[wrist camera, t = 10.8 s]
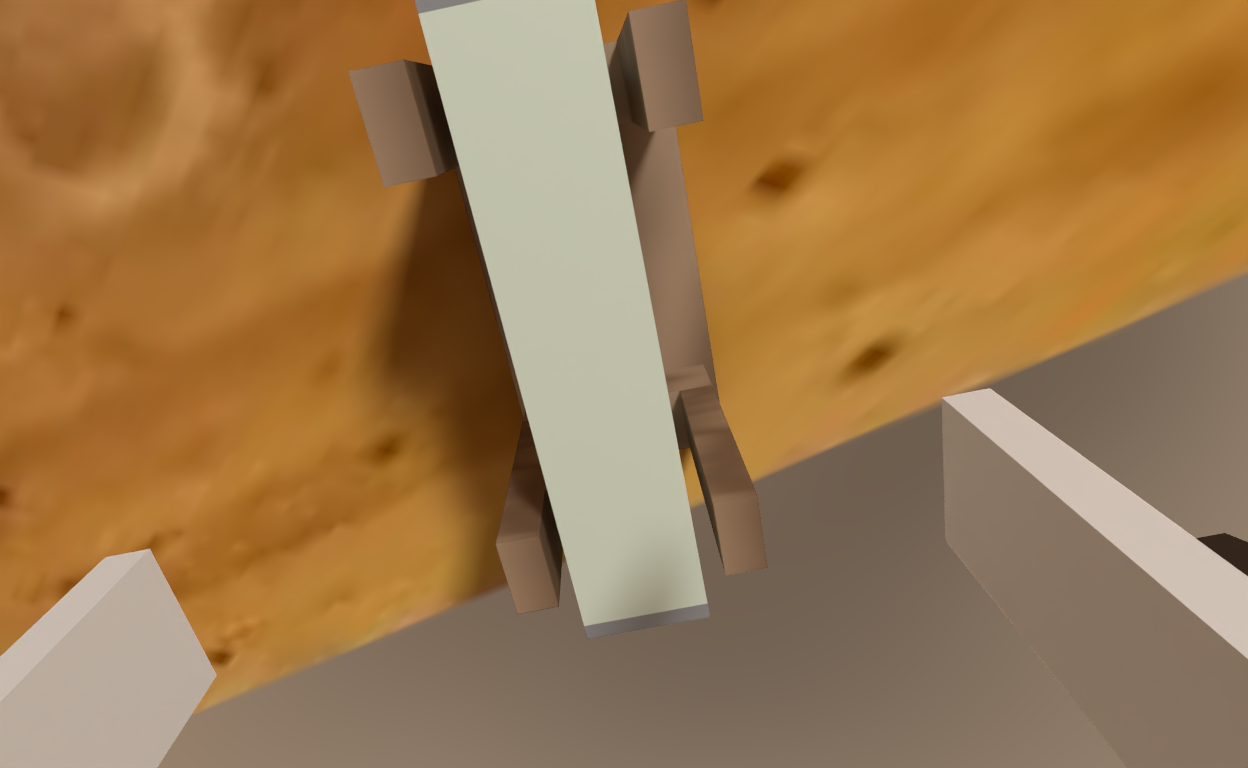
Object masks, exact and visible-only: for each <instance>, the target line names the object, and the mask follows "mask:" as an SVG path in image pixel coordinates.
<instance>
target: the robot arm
mask: <svg viewBox="0 0 1248 768" xmlns="http://www.w3.org/2000/svg"><path fill="white" fill-rule="evenodd" d="M942 422H943V423H942V424H943V461H944V497H945V498H944V499H945V500H944V502H945V537H946V539H945V541H946V542H947V543H948V544H949V546H950V547H951V548H952V550H953V551H954V552H955V553H956V554H957V556H958V557H959V558H960V560H961V561H962V562H963V563H964V564H965V566H966V567H967V568H968V569H969V571H970V572H971V573H972V575H973V576H974V577H975V578H976V579H977V581H978V582H979V583H980V585H981V586H982V587H983V588H984V590H985V591H986V592H987V593H988V594H989V596H990V597H991V598H992V599H993V601H994V602H995V603H996V605H997V606H998V607H999V608H1000V609H1001V611H1002V612H1003V613H1004V615H1005V616H1006V617H1007V618H1008V619H1009V621H1010V622H1011V623H1012V625H1013V626H1014V627H1015V628H1016V630H1017V631H1018V632H1019V633H1020V635H1021V636H1022V637H1023V638H1024V640H1025V641H1026V642H1027V643H1028V644H1029V646H1030V647H1031V648H1032V650H1033V651H1034V652H1035V653H1036V655H1037V656H1038V657H1039V658H1040V660H1041V661H1042V662H1043V663H1044V665H1045V666H1046V667H1047V668H1048V669H1049V671H1050V672H1051V673H1052V675H1053V676H1054V677H1055V678H1056V680H1057V681H1058V682H1059V683H1060V685H1061V686H1062V687H1063V688H1064V690H1065V691H1066V692H1067V693H1068V694H1069V696H1070V697H1071V698H1072V699H1073V701H1074V702H1075V703H1076V705H1077V706H1078V707H1079V708H1080V710H1081V711H1082V712H1083V713H1084V715H1085V716H1086V717H1087V718H1088V719H1089V721H1090V722H1091V723H1092V724H1093V726H1094V727H1095V728H1096V729H1097V731H1098V732H1099V733H1100V735H1101V736H1102V737H1103V738H1104V740H1105V741H1106V742H1107V743H1108V745H1109V746H1110V747H1111V748H1112V749H1113V751H1114V752H1115V753H1116V754H1117V756H1118V757H1119V758H1120V760H1121V761H1122V762H1123V763H1124V765H1125V766H1126V767H1127V768H1248V542H1246V541H1243V540H1241V539H1238V538H1236V537H1233V536H1231V535H1228V534H1226V533H1223V534H1217V535H1212V536H1207V537H1201V538H1194V537H1193V536H1192V535H1190V534H1189V533H1188V532H1186V531H1185V530H1183V529H1182V528H1181V527H1179V526H1178V525H1177V524H1175V523H1174V522H1172V521H1171V520H1169V519H1168V518H1167V517H1165V516H1164V515H1163V514H1161V513H1160V512H1159V511H1157V510H1156V509H1155V508H1153V507H1152V506H1150V505H1149V504H1148V503H1146V502H1145V501H1144V500H1142V499H1141V498H1140V497H1138V496H1137V495H1135V494H1134V493H1133V492H1131V491H1130V490H1129V489H1127V488H1126V487H1124V486H1123V485H1121V484H1120V483H1118V482H1117V481H1116V480H1115V479H1113V478H1112V477H1110V476H1109V475H1108V474H1107V473H1105V472H1104V471H1102V470H1101V469H1100V468H1098V467H1097V466H1096V465H1094V464H1093V463H1092V462H1090V461H1089V460H1087V459H1086V458H1085V457H1083V456H1082V455H1080V454H1079V453H1078V452H1076V451H1075V450H1074V449H1072V448H1071V447H1070V446H1068V445H1067V444H1065V443H1064V442H1063V441H1061V440H1060V439H1059V438H1057V437H1056V436H1054V435H1053V434H1052V433H1050V432H1049V431H1048V430H1046V429H1045V428H1043V427H1042V426H1040V425H1039V424H1038V423H1037V422H1035V421H1034V420H1032V419H1031V418H1030V417H1028V416H1027V415H1026V414H1024V413H1023V412H1021V411H1020V410H1019V409H1017V408H1016V407H1015V406H1013V405H1012V404H1010V403H1009V402H1008V401H1006V400H1005V399H1004V398H1002V397H1001V396H999V395H998V394H997V393H995V392H994V391H993V390H991V389H984V390H979V391H973V392H968V393H963V394H958V395H952V396H947V397H942ZM216 676H217V675H216V673H215V671H214V669H213V667H212V666H211V664H210V662H209V660H208V658H207V656H206V654H205V652H204V650H203V649H202V647H201V645H200V643H199V641H198V639H197V637H196V635H195V633H194V632H193V630H192V628H191V626H190V624H189V622H188V620H187V618H186V616H185V615H184V613H183V611H182V609H181V607H180V605H179V603H178V601H177V599H176V598H175V596H174V594H173V592H172V590H171V588H170V586H169V584H168V582H167V580H166V579H165V577H164V575H163V573H162V571H161V569H160V567H159V565H158V563H157V562H156V560H155V558H154V556H153V554H152V552H151V550H150V549H147V550H141V551H136V552H131V553H126V554H120V555H115V556H110V557H105V558H104V559H103V560H102V561H101V562H100V563H99V564H98V565H97V566H96V567H95V568H94V569H92V570H91V571H90V572H89V573H88V574H87V575H86V576H85V577H84V578H83V579H82V580H81V581H80V582H79V583H78V584H77V585H76V586H74V587H73V588H72V589H71V590H70V591H69V592H68V593H67V594H66V595H65V596H64V597H63V598H62V599H61V600H60V601H59V602H58V603H57V604H55V605H54V606H53V607H52V608H51V609H50V610H49V611H48V612H47V613H46V614H45V615H44V616H43V617H42V618H41V619H40V620H39V621H38V622H36V623H35V624H34V625H33V626H32V627H31V628H30V629H29V630H28V631H27V632H26V633H25V634H24V635H23V636H22V637H21V638H20V639H19V640H17V641H16V642H15V643H14V644H13V645H12V646H11V647H10V648H9V649H8V650H7V651H6V652H5V653H4V654H3V655H2V656H1V657H0V768H157V767H158V765H159V764H160V762H161V761H162V759H163V758H164V756H165V755H166V753H167V752H168V750H169V748H170V747H171V745H172V744H173V742H174V740H175V739H176V738H177V736H178V734H179V733H180V731H181V730H182V728H183V727H184V725H185V724H186V722H187V720H188V719H189V718H190V716H191V714H192V713H193V711H194V710H195V708H196V707H197V705H198V704H199V702H200V701H201V699H202V697H203V696H204V694H205V693H206V691H207V690H208V688H209V687H210V685H211V684H212V682H213V680H214V679H215V677H216Z"/></svg>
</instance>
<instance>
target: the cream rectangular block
mask: <svg viewBox="0 0 1248 768" xmlns="http://www.w3.org/2000/svg"><path fill="white" fill-rule="evenodd" d="M415 3H416V7H417V11H418V14H419V18H420V22H421V25H422V29H423V33H424V36H425V40H426V44H427V47H428V51H429V55H430V59H431V62H432V66H433V70H434V73H435V77H436V81H437V84H438V88H439V92H440V95H441V99H442V103H443V107H444V110H445V114H446V118H447V121H448V125H449V129H450V132H451V136H452V140H453V144H454V147H455V151H456V155H457V158H458V162H459V166H460V169H461V173H462V177H463V180H464V184H465V188H466V192H467V195H468V199H469V203H470V206H471V210H472V214H473V217H474V221H475V225H476V229H477V232H478V236H479V240H480V243H481V247H482V251H483V254H484V258H485V262H486V265H487V269H488V273H489V277H490V280H491V284H492V288H493V291H494V295H495V299H496V302H497V306H498V310H499V314H500V317H501V321H502V325H503V328H504V332H505V336H506V339H507V343H508V347H509V350H510V354H511V358H512V362H513V365H514V369H515V373H516V376H517V380H518V384H519V387H520V391H521V395H522V399H523V402H524V406H525V410H526V413H527V417H528V421H529V424H530V428H531V432H532V435H533V439H534V443H535V447H536V450H537V454H538V458H539V461H540V465H541V469H542V472H543V476H544V480H545V483H546V487H547V491H548V495H549V498H550V502H551V506H552V509H553V513H554V517H555V520H556V524H557V528H558V532H559V535H560V539H561V543H562V546H563V550H564V554H565V557H566V561H567V565H568V568H569V572H570V576H571V580H572V583H573V587H574V591H575V594H576V598H577V601H578V605H579V609H580V612H581V617H582V620H583V624H584V628H585V631H586V635H587V639H591V638H597V637H602V636H608V635H613V634H618V633H624V632H629V631H635V630H640V629H645V628H651V627H656V626H662V625H668V624H673V623H678V622H684V621H689V620H695V619H700V618H706V617H710V615H709V609H708V604H707V598H706V593H705V588H704V582H703V577H702V572H701V566H700V561H699V556H698V550H697V545H696V540H695V534H694V529H693V523H692V518H691V513H690V507H689V502H688V497H687V491H686V486H685V481H684V475H683V470H682V465H681V459H680V454H679V448H678V443H677V438H676V432H675V427H674V422H673V416H672V411H671V406H670V400H669V395H668V390H667V384H666V379H665V373H664V368H663V363H662V357H661V352H660V347H659V341H658V336H657V331H656V325H655V320H654V315H653V309H652V304H651V298H650V293H649V288H648V282H647V277H646V272H645V266H644V261H643V256H642V250H641V245H640V240H639V234H638V229H637V223H636V218H635V213H634V207H633V202H632V197H631V191H630V186H629V181H628V175H627V170H626V165H625V159H624V154H623V148H622V143H621V138H620V132H619V127H618V122H617V116H616V111H615V106H614V100H613V95H612V90H611V84H610V79H609V73H608V68H607V63H606V57H605V52H604V47H603V41H602V36H601V31H600V25H599V20H598V15H597V9H596V4H595V0H415Z"/></svg>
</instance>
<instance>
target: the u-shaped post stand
mask: <svg viewBox="0 0 1248 768" xmlns="http://www.w3.org/2000/svg"><path fill="white" fill-rule="evenodd" d="M603 47H604V52H605V57H606V63H607V68H608V73H609V79H610V84H611V90H612V95H613V100H614V106H615V111H616V116H617V122H618V127H619V132H620V138H621V143H622V148H623V154H624V159H625V165H626V170H627V175H628V181H629V186H630V191H631V197H632V202H633V207H634V213H635V218H636V223H637V229H638V234H639V240H640V245H641V250H642V256H643V261H644V266H645V272H646V277H647V282H648V288H649V293H650V298H651V304H652V309H653V315H654V320H655V325H656V331H657V336H658V341H659V347H660V352H661V357H662V363H663V368H664V373H665V379H666V384H667V390H668V395H669V400H670V406H671V411H672V416H673V422H674V427H675V432H676V438H677V443H678V448H679V449H684V448H689V447H690V449H691V452H692V456H693V459H694V463H695V467H696V470H697V474H698V478H699V481H700V485H701V488H702V492H703V496H704V499H705V503H706V506H707V510H708V513H709V517H710V521H711V524H712V528H713V532H714V535H715V539H716V543H717V546H718V550H719V553H720V557H721V561H722V564H723V568H724V571H725V575H732V574H737V573H742V572H748V571H753V570H758V569H764V568H768V566H767V559H766V552H765V546H764V538H763V531H762V525H761V517H760V510H759V503H758V497H757V493H756V491H755V488H754V486H753V483H752V481H751V479H750V476H749V474H748V471H747V469H746V466H745V464H744V462H743V459H742V457H741V454H740V452H739V449H738V447H737V445H736V442H735V440H734V437H733V435H732V432H731V430H730V428H729V425H728V423H727V420H726V418H725V416H724V413H723V411H722V408H721V406H720V403H719V397H718V390H717V384H716V378H715V371H714V365H713V359H712V352H711V346H710V340H709V333H708V327H707V321H706V314H705V308H704V302H703V296H702V289H701V283H700V277H699V270H698V264H697V258H696V251H695V245H694V239H693V232H692V226H691V220H690V213H689V207H688V201H687V194H686V188H685V182H684V175H683V169H682V163H681V156H680V150H679V144H678V138H677V131H676V126H680V125H685V124H690V123H695V122H700V121H703V115H702V108H701V101H700V94H699V87H698V80H697V73H696V66H695V59H694V53H693V46H692V39H691V32H690V25H689V18H688V11H687V4H686V0H679V1H674V2H670V3H665V4H660V5H656V6H651V7H646V8H642V9H637V10H632V11H629V12H628V14H627V17H626V19H625V22H624V25H623V27H622V30H621V32H620V35H619V37H618V40H617V41H614V42H609V43H605V44H603ZM348 73H349V76H350V79H351V83H352V86H353V89H354V92H355V95H356V99H357V102H358V105H359V108H360V111H361V115H362V118H363V121H364V124H365V127H366V131H367V134H368V137H369V140H370V144H371V147H372V150H373V153H374V156H375V160H376V163H377V166H378V169H379V172H380V176H381V179H382V182H383V185H384V187H388V186H393V185H398V184H402V183H407V182H412V181H417V180H421V179H426V178H431V177H436V176H438V175H440V174H442V173H445V172H447V171H449V170H451V169H453V168H455V170H456V174H457V178H458V181H459V185H460V189H461V192H462V196H463V200H464V203H465V207H466V211H467V214H468V218H469V222H470V225H471V229H472V233H473V236H474V240H475V244H476V247H477V251H478V255H479V258H480V262H481V266H482V269H483V273H484V276H485V280H486V284H487V287H488V291H489V295H490V298H491V302H492V306H493V309H494V313H495V317H496V320H497V324H498V328H499V331H500V335H501V339H502V342H503V346H504V350H505V353H506V357H507V361H508V364H509V368H510V372H511V375H512V379H513V383H514V386H515V390H516V394H517V397H518V401H519V405H520V408H521V412H522V416H523V423H522V428H521V432H520V437H519V441H518V446H517V450H516V455H515V459H514V464H513V468H512V473H511V477H510V482H509V486H508V491H507V495H506V500H505V504H504V509H503V513H502V518H501V522H500V527H499V532H498V536H497V541H496V547H497V550H498V554H499V557H500V560H501V563H502V566H503V570H504V573H505V576H506V579H507V582H508V586H509V589H510V592H511V595H512V599H513V602H514V605H515V608H516V611H517V614H522V613H527V612H533V611H538V610H543V609H548V608H554V607H559V595H560V579H561V567H562V552H563V546H562V543H561V539H560V535H559V532H558V528H557V524H556V520H555V517H554V513H553V509H552V506H551V502H550V498H549V495H548V491H547V487H546V483H545V480H544V476H543V472H542V469H541V465H540V461H539V458H538V454H537V450H536V447H535V443H534V439H533V435H532V432H531V428H530V424H529V421H528V417H527V413H526V410H525V406H524V402H523V399H522V395H521V391H520V387H519V384H518V380H517V376H516V373H515V369H514V365H513V362H512V358H511V354H510V350H509V347H508V343H507V339H506V336H505V332H504V328H503V325H502V321H501V317H500V314H499V310H498V306H497V302H496V299H495V295H494V291H493V288H492V284H491V280H490V277H489V273H488V269H487V265H486V262H485V258H484V254H483V251H482V247H481V243H480V240H479V236H478V232H477V229H476V225H475V221H474V217H473V214H472V210H471V206H470V203H469V199H468V195H467V192H466V188H465V184H464V180H463V177H462V173H461V169H460V166H459V162H458V158H457V155H456V151H455V147H454V144H453V140H452V136H451V132H450V129H449V125H448V121H447V118H446V114H445V110H444V107H443V103H442V99H441V95H440V92H439V88H438V84H437V81H436V77H435V73H434V70H433V66H431V65H427V64H422V63H417V62H412V61H407V60H400V61H395V62H390V63H386V64H381V65H376V66H372V67H367V68H363V69H358V70H353V71H349V72H348Z"/></svg>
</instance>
